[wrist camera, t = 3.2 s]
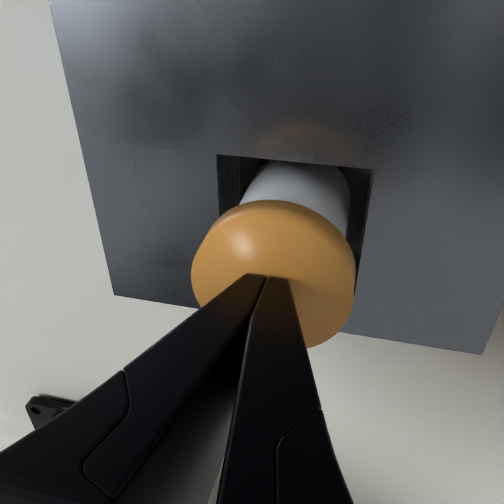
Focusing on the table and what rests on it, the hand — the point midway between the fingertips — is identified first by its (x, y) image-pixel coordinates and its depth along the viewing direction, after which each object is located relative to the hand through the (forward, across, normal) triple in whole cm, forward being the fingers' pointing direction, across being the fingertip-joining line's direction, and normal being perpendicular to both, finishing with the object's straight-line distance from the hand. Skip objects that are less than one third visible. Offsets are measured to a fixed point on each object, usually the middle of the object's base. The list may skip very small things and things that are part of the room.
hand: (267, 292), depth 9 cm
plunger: (+4, 0, 0) cm, 4 cm away
